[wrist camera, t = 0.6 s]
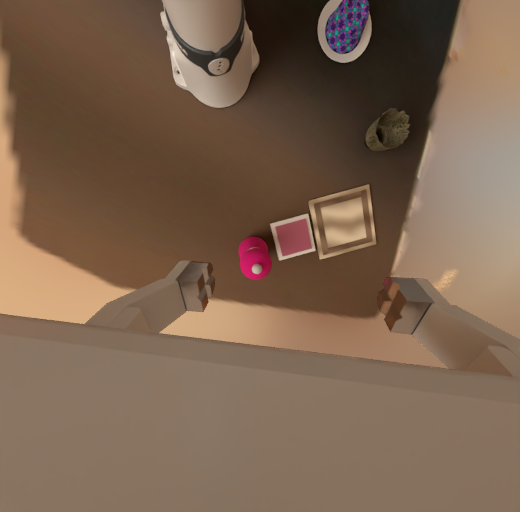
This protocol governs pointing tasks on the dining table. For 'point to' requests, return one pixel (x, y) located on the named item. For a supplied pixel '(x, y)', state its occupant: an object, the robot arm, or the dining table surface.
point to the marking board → (343, 221)
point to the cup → (388, 131)
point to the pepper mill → (254, 258)
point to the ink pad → (293, 236)
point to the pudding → (345, 29)
